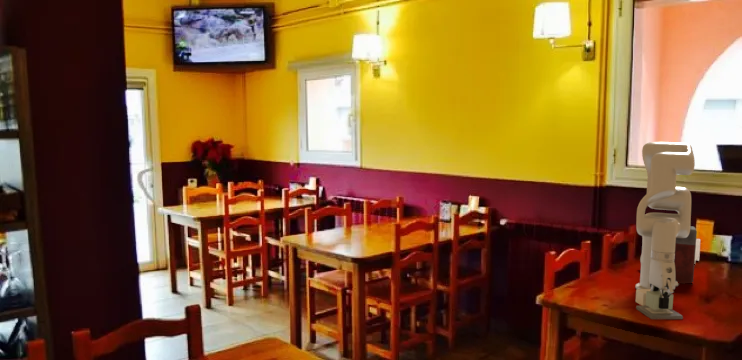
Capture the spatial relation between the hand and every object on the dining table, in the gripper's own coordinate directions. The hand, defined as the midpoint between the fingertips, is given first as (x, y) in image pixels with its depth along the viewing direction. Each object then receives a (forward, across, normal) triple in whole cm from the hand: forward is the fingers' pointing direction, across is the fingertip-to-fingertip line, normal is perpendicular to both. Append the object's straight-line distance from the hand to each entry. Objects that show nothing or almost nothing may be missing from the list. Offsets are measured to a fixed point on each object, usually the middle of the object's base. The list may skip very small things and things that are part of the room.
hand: (659, 305), depth 207 cm
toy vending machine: (+3, +44, -33) cm, 55 cm away
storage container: (+4, +74, -50) cm, 89 cm away
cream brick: (+3, +12, -2) cm, 12 cm away
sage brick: (+1, 0, 0) cm, 1 cm away
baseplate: (+3, 0, 0) cm, 3 cm away
